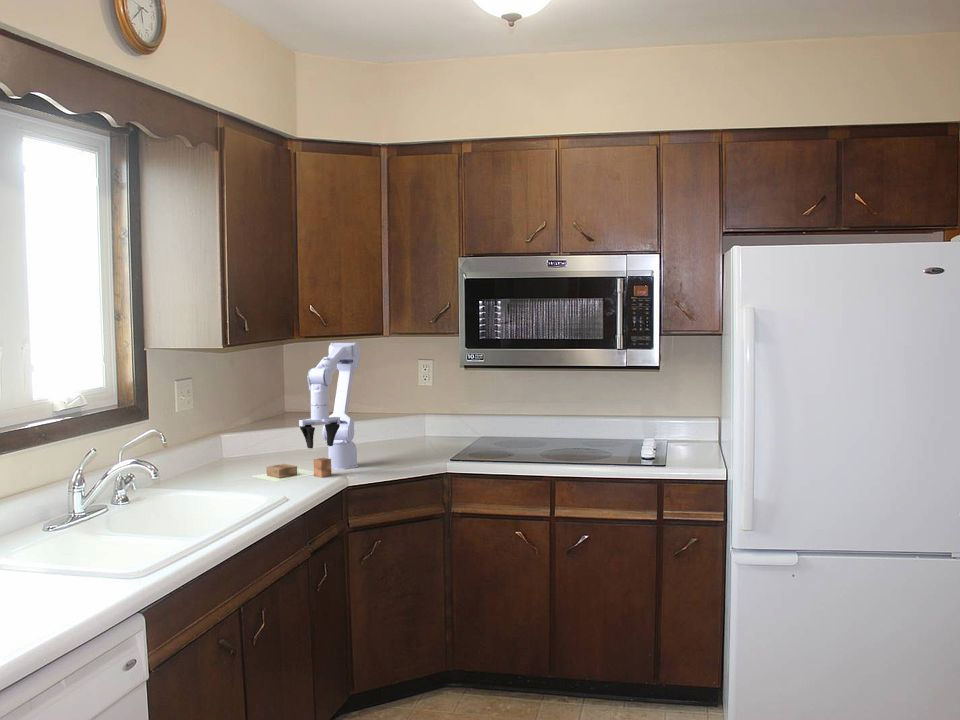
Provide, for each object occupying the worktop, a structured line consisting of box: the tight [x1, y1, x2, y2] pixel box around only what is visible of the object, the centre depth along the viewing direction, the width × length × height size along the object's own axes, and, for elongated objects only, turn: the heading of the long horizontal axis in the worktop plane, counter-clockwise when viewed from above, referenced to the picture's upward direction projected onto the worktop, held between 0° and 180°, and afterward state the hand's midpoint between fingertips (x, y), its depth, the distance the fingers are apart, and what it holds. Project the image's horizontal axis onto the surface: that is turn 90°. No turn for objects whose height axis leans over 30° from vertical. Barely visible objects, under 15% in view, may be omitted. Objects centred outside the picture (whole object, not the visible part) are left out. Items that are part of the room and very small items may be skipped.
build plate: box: [251, 467, 314, 483], centre depth 272 cm, size 18×14×1 cm
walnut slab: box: [265, 463, 298, 479], centre depth 270 cm, size 7×7×3 cm
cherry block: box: [313, 457, 332, 479], centre depth 269 cm, size 4×4×6 cm
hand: (320, 447), depth 268 cm, fingers open, 7 cm apart
